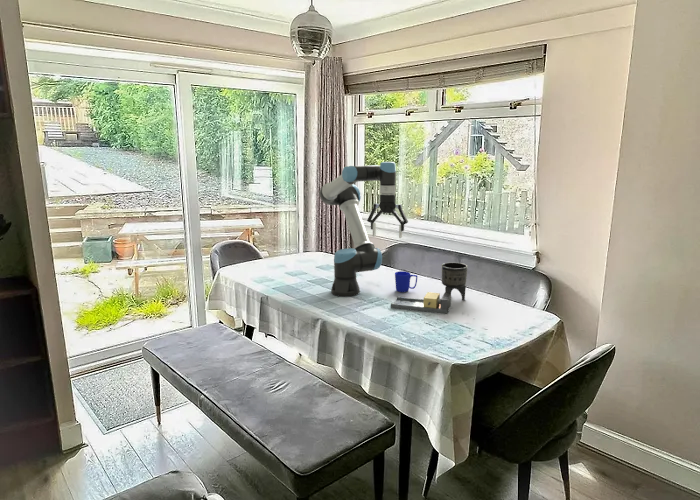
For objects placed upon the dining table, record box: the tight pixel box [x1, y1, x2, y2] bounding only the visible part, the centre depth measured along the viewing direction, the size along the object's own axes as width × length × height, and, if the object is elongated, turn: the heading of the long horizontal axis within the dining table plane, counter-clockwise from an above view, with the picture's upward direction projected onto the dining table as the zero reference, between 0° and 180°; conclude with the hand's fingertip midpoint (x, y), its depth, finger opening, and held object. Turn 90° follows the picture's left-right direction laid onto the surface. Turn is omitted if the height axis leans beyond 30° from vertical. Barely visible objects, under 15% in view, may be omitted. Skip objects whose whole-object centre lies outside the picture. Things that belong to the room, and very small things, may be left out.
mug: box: [394, 271, 418, 293], centre depth 255 cm, size 8×12×10 cm
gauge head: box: [423, 291, 441, 308], centre depth 227 cm, size 7×12×5 cm, turn 160°
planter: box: [441, 261, 469, 301], centre depth 241 cm, size 13×13×18 cm
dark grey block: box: [440, 291, 452, 312], centre depth 226 cm, size 3×12×6 cm, turn 160°
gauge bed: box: [390, 296, 452, 315], centre depth 231 cm, size 27×12×2 cm, turn 70°
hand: (387, 236), depth 236 cm, fingers open, 13 cm apart
